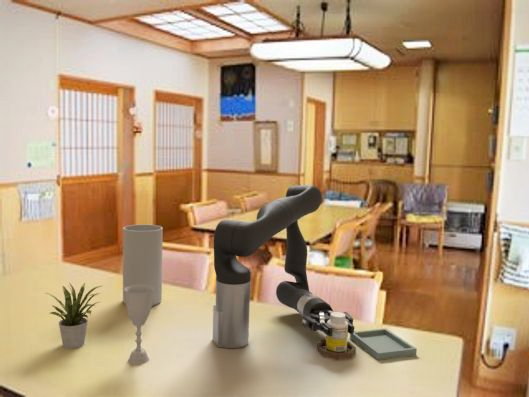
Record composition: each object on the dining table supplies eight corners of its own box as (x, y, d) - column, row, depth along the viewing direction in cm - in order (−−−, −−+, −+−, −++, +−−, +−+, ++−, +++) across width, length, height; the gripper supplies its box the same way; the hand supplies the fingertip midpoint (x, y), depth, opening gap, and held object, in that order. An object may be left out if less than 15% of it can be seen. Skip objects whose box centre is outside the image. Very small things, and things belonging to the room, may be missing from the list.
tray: (377, 360, 126) (378, 353, 126) (350, 338, 140) (350, 332, 140) (416, 355, 130) (416, 348, 130) (385, 334, 144) (385, 328, 143)
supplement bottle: (332, 345, 134) (334, 309, 133) (350, 351, 131) (352, 314, 129) (321, 351, 130) (323, 314, 129) (339, 358, 126) (341, 319, 125)
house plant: (118, 339, 133) (118, 280, 131) (83, 359, 120) (83, 294, 118) (74, 330, 138) (74, 273, 136) (37, 349, 125) (36, 287, 123)
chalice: (145, 367, 117) (145, 294, 115) (118, 364, 118) (118, 291, 116) (157, 355, 124) (158, 285, 122) (132, 352, 126) (133, 283, 123)
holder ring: (327, 361, 124) (328, 355, 124) (311, 346, 133) (312, 340, 133) (361, 357, 127) (361, 351, 127) (343, 342, 136) (343, 337, 136)
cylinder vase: (169, 300, 166) (170, 227, 163) (141, 310, 156) (142, 232, 153) (143, 293, 173) (143, 223, 170) (114, 302, 162) (114, 227, 159)
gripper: (291, 299, 140) (317, 319, 124) (337, 295, 145) (367, 315, 129) (290, 324, 141) (315, 348, 125) (335, 320, 146) (365, 342, 130)
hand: (341, 331), depth 127 cm, fingers closed on supplement bottle, 5 cm apart
